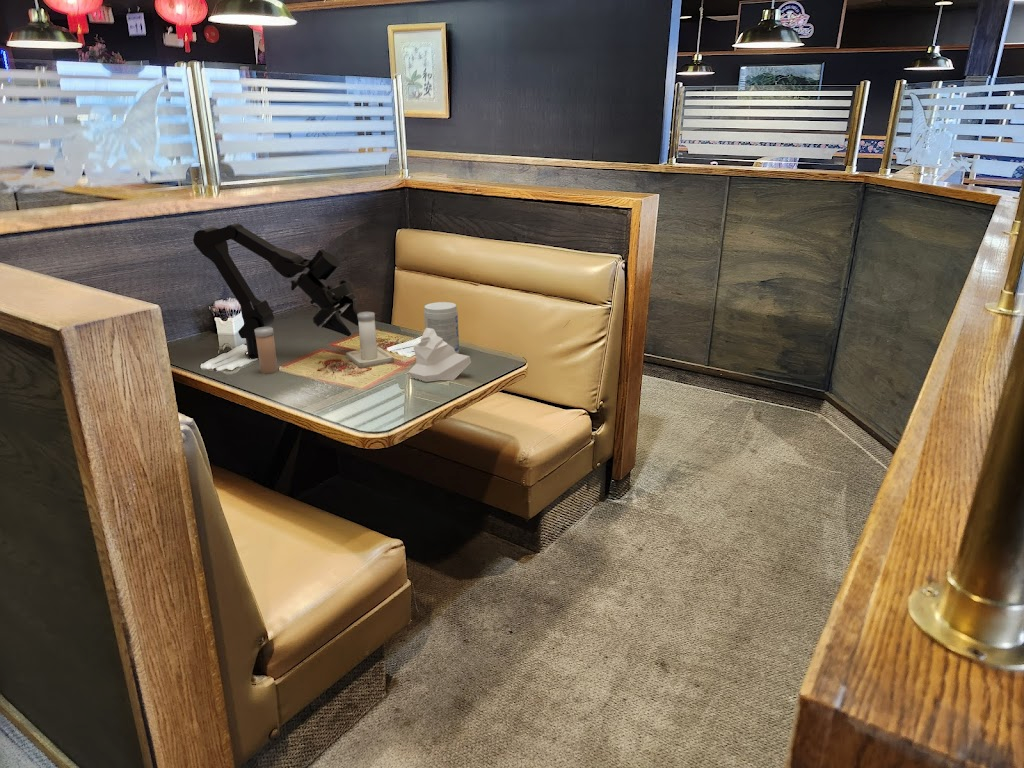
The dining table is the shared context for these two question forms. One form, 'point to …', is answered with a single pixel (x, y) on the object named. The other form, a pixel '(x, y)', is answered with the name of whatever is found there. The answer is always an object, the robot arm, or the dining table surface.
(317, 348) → the dining table surface
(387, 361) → the tray
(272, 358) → the pepper shaker
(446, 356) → the white faceted sculpture
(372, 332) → the salt shaker
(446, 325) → the supplement tub
